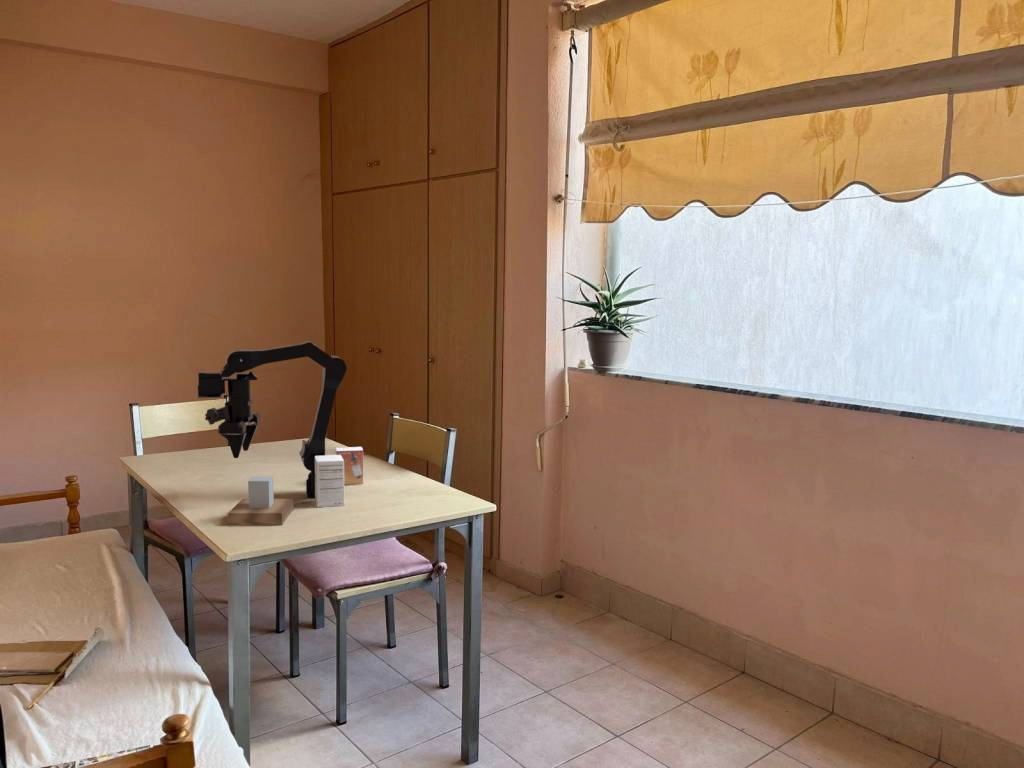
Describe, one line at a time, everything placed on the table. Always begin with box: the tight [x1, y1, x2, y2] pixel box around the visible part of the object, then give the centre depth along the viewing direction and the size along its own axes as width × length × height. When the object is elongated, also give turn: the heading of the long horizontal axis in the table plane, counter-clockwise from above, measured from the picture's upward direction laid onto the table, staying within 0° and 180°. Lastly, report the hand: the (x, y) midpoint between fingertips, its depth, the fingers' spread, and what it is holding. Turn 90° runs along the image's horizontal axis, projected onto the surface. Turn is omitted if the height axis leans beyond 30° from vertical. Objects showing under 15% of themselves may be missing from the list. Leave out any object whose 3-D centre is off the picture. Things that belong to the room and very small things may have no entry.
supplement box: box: [314, 454, 346, 508], centre depth 213 cm, size 7×7×13 cm
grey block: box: [247, 475, 275, 509], centre depth 199 cm, size 5×5×7 cm
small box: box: [334, 446, 364, 486], centre depth 235 cm, size 8×6×10 cm
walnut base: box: [227, 498, 294, 526], centre depth 199 cm, size 13×13×3 cm
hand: (240, 454), depth 212 cm, fingers open, 9 cm apart
